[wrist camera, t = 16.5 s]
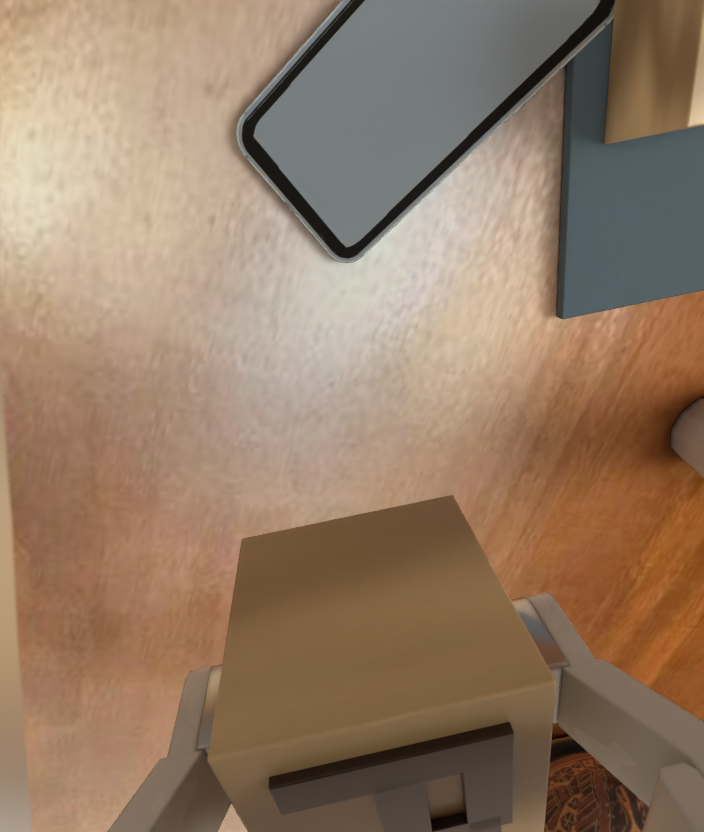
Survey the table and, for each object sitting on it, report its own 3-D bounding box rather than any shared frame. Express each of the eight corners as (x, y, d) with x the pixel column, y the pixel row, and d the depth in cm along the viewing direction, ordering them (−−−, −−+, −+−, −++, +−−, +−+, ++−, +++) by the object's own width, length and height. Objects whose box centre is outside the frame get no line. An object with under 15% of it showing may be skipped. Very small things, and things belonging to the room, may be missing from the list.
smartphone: (223, 132, 17) (538, -227, 14) (227, 135, 18) (524, -202, 15) (345, 274, 20) (632, 3, 17) (344, 271, 21) (616, 13, 18)
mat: (579, -294, 14) (590, -314, 13) (814, -331, 14) (834, -353, 14) (556, 317, 23) (562, 319, 22) (700, 287, 23) (710, 289, 22)
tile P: (241, 537, 10) (203, 776, 6) (453, 493, 10) (564, 692, 6) (289, 672, 12) (287, 915, 8) (462, 634, 12) (548, 851, 8)
